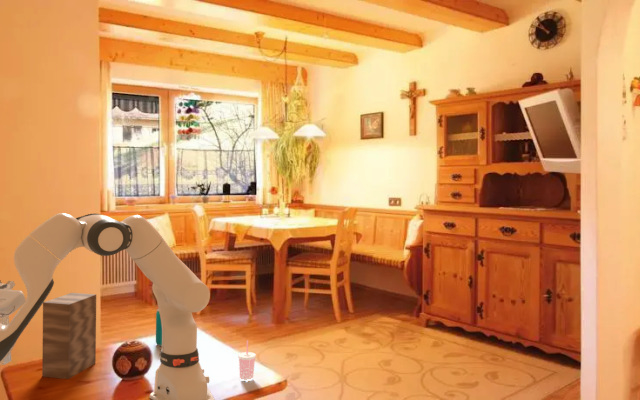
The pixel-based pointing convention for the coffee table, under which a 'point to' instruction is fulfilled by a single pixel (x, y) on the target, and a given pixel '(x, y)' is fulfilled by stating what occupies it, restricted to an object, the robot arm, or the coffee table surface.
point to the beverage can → (158, 329)
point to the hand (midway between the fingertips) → (5, 282)
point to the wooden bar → (5, 321)
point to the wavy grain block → (69, 335)
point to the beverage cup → (246, 364)
